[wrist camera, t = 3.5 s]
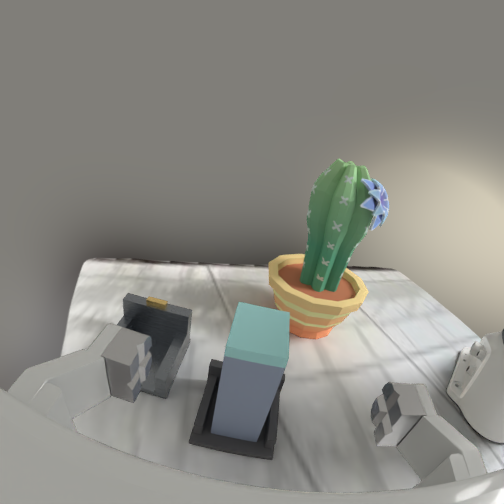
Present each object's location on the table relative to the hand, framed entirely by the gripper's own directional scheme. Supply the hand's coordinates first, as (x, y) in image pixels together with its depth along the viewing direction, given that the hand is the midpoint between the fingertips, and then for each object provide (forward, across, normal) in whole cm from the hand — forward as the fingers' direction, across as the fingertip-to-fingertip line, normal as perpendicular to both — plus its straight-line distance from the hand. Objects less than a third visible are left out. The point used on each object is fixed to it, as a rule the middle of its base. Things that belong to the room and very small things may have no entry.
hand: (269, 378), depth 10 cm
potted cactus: (+33, -8, +20) cm, 40 cm away
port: (+18, +12, +20) cm, 29 cm away
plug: (+13, 0, +19) cm, 23 cm away
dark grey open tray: (+13, 0, +20) cm, 23 cm away
